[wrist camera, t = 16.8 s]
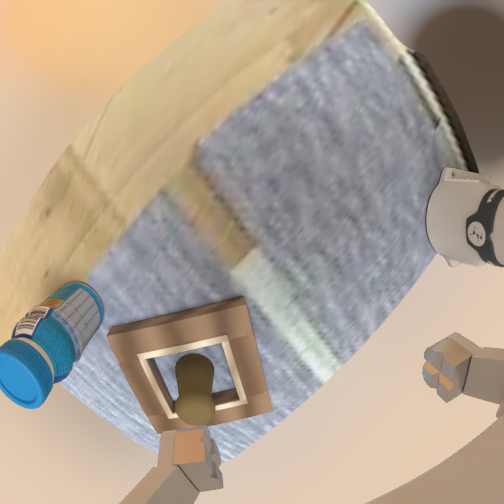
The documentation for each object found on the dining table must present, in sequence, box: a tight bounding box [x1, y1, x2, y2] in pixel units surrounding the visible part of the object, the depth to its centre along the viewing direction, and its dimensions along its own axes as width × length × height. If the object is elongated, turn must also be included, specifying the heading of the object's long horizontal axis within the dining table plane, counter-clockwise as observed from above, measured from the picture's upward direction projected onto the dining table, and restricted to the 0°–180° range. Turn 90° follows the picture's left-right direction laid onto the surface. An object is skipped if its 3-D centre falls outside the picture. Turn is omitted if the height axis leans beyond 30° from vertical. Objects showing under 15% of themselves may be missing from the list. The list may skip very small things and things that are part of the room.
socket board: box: [107, 296, 273, 434], centre depth 40 cm, size 20×20×3 cm
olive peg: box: [175, 354, 216, 426], centre depth 37 cm, size 6×6×11 cm
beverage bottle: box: [0, 282, 103, 409], centre depth 28 cm, size 8×8×20 cm
